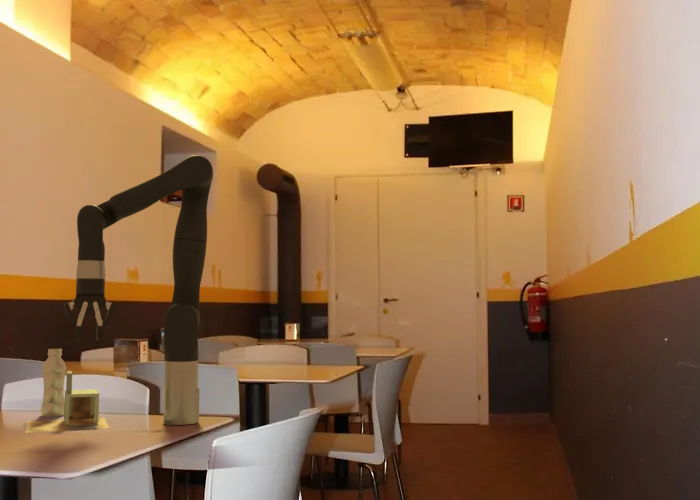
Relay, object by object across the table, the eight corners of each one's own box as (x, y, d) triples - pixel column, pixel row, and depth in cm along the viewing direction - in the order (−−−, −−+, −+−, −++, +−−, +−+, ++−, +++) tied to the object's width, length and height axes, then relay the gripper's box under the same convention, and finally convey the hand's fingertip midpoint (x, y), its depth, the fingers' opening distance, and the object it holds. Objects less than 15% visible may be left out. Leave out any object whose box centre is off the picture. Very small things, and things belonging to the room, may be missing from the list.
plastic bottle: (70, 418, 217) (72, 348, 219) (49, 421, 212) (51, 350, 213) (55, 416, 221) (58, 348, 222) (35, 419, 215) (37, 349, 217)
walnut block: (89, 420, 207) (89, 394, 208) (89, 422, 203) (90, 396, 203) (71, 421, 205) (72, 395, 206) (72, 423, 201) (73, 397, 202)
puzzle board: (104, 421, 212) (104, 413, 212) (109, 432, 193) (109, 423, 194) (27, 425, 205) (27, 417, 205) (25, 436, 186) (25, 427, 186)
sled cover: (96, 417, 211) (97, 369, 212) (98, 422, 201) (99, 373, 202) (64, 418, 208) (65, 370, 209) (64, 424, 197) (66, 373, 198)
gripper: (116, 278, 214) (114, 339, 212) (63, 277, 209) (61, 339, 207) (118, 277, 207) (117, 340, 205) (63, 276, 202) (61, 340, 200)
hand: (89, 339), depth 206 cm, fingers open, 4 cm apart
